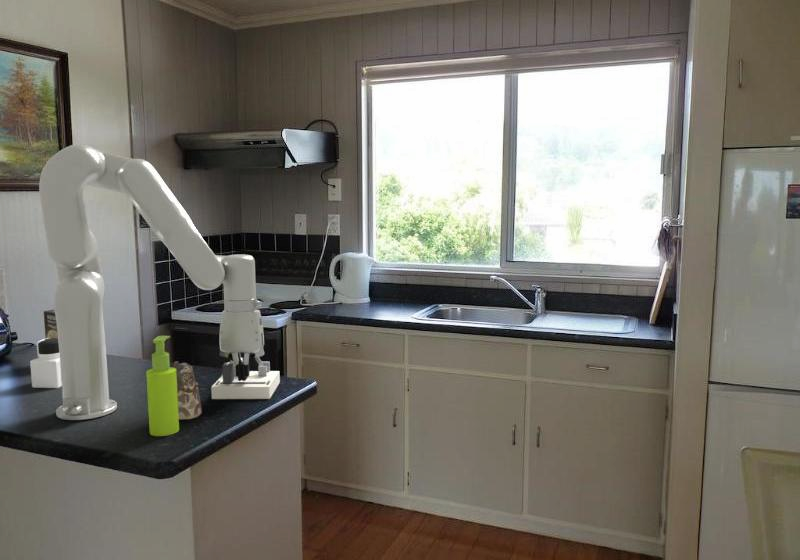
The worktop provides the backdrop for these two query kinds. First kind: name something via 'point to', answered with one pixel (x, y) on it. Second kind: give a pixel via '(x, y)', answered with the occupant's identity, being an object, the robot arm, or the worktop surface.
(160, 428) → the soap dispenser
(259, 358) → the toggle lever
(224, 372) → the slider knob
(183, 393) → the figurine
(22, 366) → the worktop surface
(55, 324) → the coffee box
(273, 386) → the panel
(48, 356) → the medicine bottle
